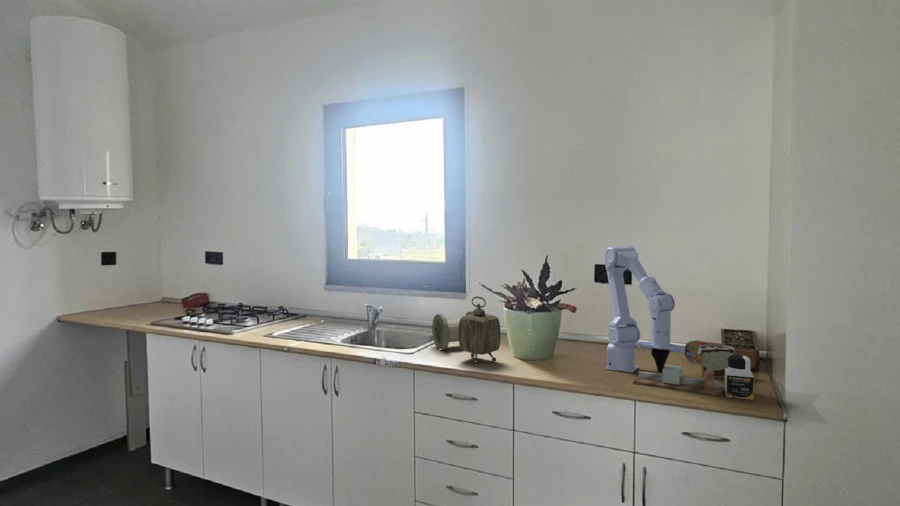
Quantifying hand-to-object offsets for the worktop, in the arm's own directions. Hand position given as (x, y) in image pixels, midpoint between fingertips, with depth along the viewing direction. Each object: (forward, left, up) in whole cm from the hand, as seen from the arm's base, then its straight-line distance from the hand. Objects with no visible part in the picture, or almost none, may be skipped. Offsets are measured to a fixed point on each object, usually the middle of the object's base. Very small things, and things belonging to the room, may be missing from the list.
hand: (660, 372), depth 179 cm
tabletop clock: (-66, -5, -4) cm, 66 cm away
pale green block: (+4, 0, -2) cm, 4 cm away
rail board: (+5, 0, -4) cm, 6 cm away
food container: (+13, +19, -4) cm, 24 cm away
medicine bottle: (+23, -1, -4) cm, 23 cm away
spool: (-85, +10, -4) cm, 85 cm away
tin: (+9, +33, -4) cm, 35 cm away
